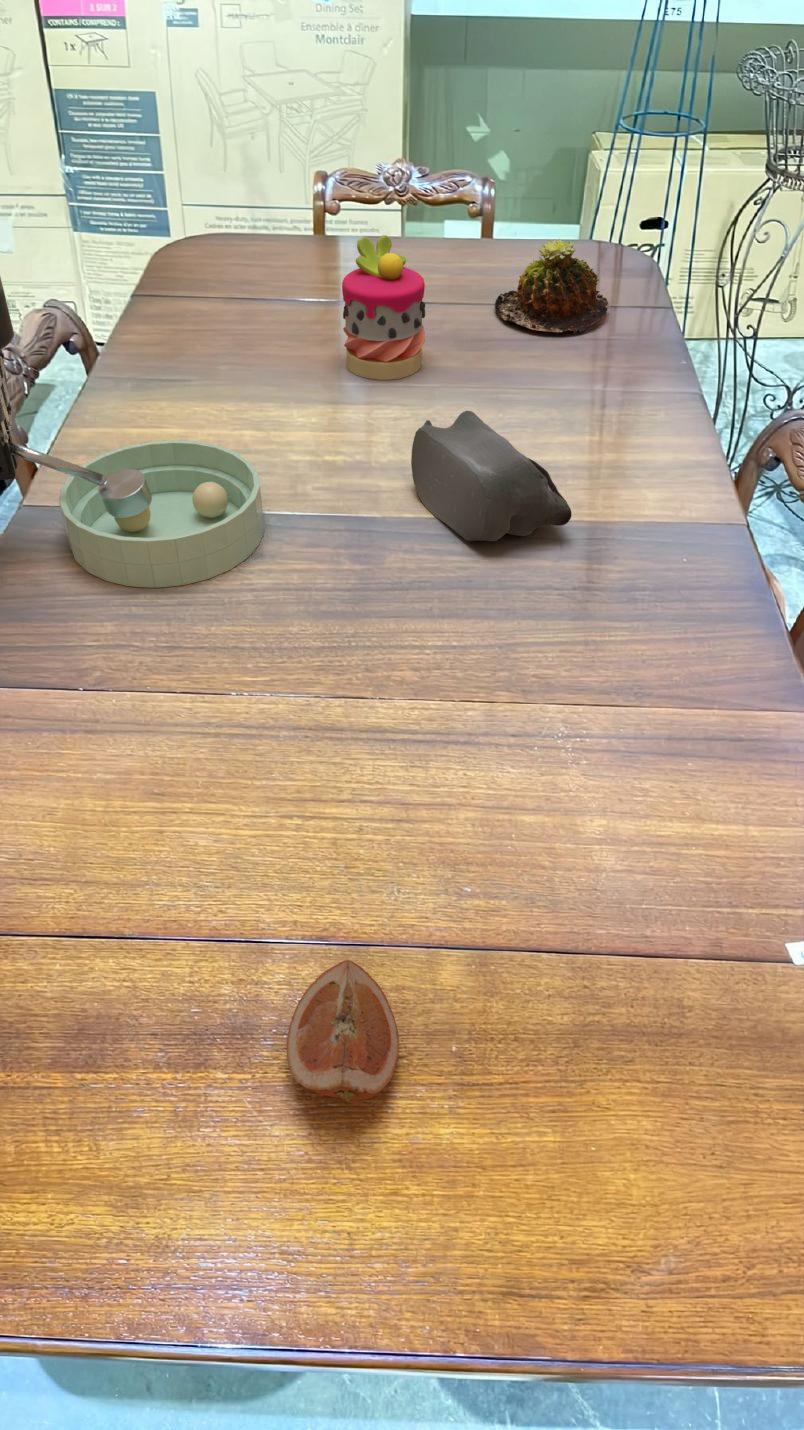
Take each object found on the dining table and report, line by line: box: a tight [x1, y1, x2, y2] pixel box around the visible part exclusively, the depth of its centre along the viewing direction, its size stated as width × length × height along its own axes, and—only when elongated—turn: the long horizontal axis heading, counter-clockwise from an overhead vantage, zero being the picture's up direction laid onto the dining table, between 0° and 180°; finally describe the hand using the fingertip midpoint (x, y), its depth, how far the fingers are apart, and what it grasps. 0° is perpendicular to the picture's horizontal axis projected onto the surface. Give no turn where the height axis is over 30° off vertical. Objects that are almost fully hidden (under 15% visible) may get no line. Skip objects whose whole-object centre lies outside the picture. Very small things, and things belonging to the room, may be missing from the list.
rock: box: [410, 410, 572, 542], centre depth 111 cm, size 18×11×8 cm, turn 29°
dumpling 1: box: [114, 506, 151, 532], centre depth 108 cm, size 4×4×4 cm
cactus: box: [494, 238, 610, 335], centre depth 150 cm, size 17×16×10 cm
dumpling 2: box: [192, 482, 228, 518], centre depth 110 cm, size 4×4×4 cm
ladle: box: [8, 441, 152, 518], centre depth 102 cm, size 14×5×10 cm, turn 94°
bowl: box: [58, 439, 265, 589], centre depth 107 cm, size 19×19×6 cm
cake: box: [341, 234, 426, 381], centre depth 136 cm, size 10×11×15 cm
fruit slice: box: [286, 959, 400, 1102], centre depth 64 cm, size 8×7×5 cm
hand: (5, 473), depth 102 cm, fingers closed on ladle, 1 cm apart
